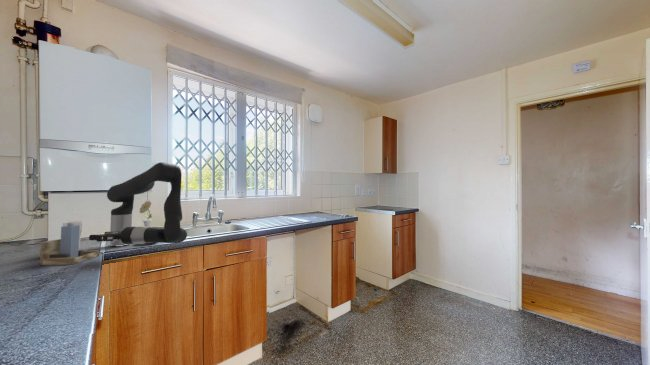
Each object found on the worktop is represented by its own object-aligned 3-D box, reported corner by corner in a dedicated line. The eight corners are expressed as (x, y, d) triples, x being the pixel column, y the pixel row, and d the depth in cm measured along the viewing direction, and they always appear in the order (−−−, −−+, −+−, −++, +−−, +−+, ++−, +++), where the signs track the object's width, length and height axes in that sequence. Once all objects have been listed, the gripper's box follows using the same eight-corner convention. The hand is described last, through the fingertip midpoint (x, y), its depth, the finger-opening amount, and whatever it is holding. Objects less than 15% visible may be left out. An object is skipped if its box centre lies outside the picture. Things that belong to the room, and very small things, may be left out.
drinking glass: (66, 251, 126) (67, 221, 126) (83, 250, 128) (85, 220, 129) (57, 254, 119) (59, 222, 120) (76, 253, 122) (77, 222, 122)
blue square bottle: (68, 257, 112) (69, 222, 113) (78, 257, 112) (79, 221, 113) (59, 259, 108) (61, 223, 109) (70, 259, 108) (71, 223, 109)
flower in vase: (133, 243, 146) (134, 200, 147) (156, 241, 154) (157, 200, 155) (135, 247, 137) (137, 200, 138) (160, 244, 144) (161, 200, 145)
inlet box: (70, 256, 116) (71, 236, 117) (98, 255, 118) (99, 236, 118) (39, 265, 103) (40, 242, 103) (72, 264, 104) (73, 242, 104)
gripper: (146, 224, 121) (109, 225, 119) (126, 229, 107) (84, 229, 105) (146, 240, 120) (109, 241, 119) (126, 247, 106) (83, 247, 104)
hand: (97, 235), depth 112 cm, fingers open, 8 cm apart
